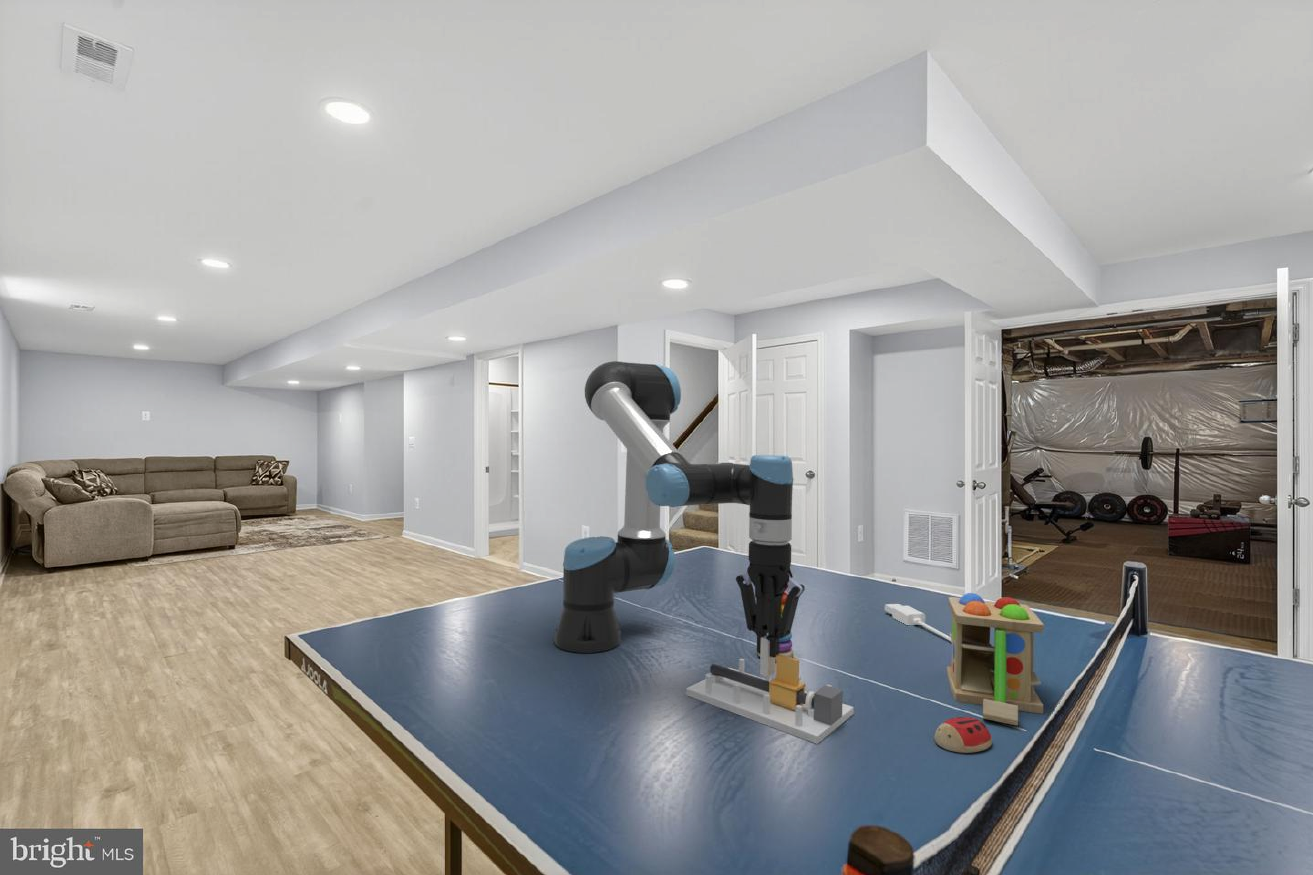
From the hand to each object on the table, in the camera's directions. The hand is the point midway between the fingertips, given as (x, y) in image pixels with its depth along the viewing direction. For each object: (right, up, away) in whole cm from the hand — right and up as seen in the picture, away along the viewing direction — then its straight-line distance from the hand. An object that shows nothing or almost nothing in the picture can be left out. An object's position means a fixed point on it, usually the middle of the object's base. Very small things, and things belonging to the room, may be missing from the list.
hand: (767, 673), depth 108 cm
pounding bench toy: (+43, -7, +4) cm, 43 cm away
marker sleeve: (+3, -4, -2) cm, 6 cm away
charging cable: (+48, -7, +43) cm, 65 cm away
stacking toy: (+6, -6, +24) cm, 25 cm away
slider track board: (0, -6, 0) cm, 6 cm away
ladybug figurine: (+29, -7, -12) cm, 32 cm away
